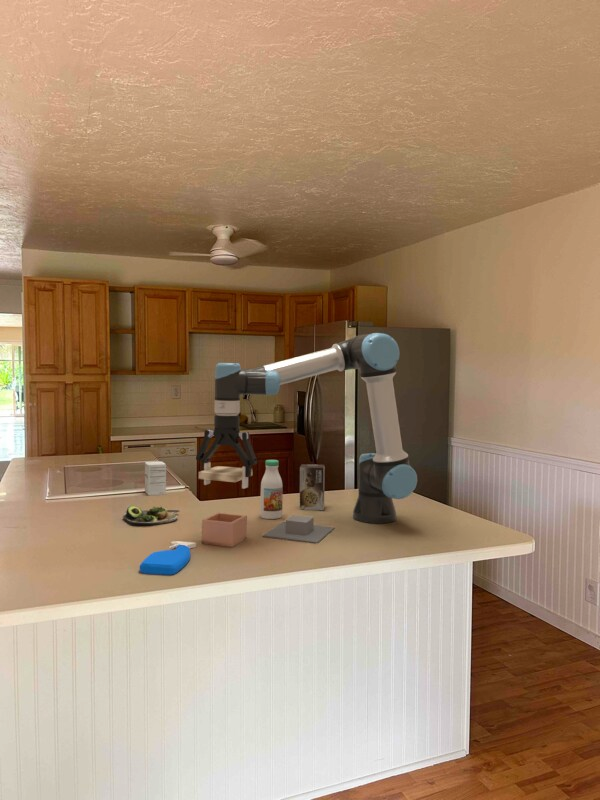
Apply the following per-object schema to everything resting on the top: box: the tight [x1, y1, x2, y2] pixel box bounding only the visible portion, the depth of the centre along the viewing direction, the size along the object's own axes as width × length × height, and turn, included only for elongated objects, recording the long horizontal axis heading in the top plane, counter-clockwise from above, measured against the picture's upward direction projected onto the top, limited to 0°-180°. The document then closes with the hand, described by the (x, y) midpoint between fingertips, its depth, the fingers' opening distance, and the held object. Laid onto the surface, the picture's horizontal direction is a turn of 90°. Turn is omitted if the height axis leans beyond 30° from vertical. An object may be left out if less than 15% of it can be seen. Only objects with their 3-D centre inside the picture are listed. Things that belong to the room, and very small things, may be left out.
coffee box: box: [299, 463, 326, 511], centre depth 225 cm, size 9×6×16 cm
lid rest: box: [261, 514, 336, 544], centre depth 192 cm, size 18×18×4 cm
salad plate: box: [122, 505, 180, 527], centre depth 206 cm, size 19×18×5 cm
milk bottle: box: [259, 459, 284, 520], centre depth 211 cm, size 8×8×20 cm
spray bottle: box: [139, 540, 197, 576], centre depth 164 cm, size 3×11×24 cm
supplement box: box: [144, 460, 167, 496], centre depth 246 cm, size 7×7×13 cm
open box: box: [201, 512, 248, 548], centre depth 182 cm, size 10×10×7 cm
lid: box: [198, 465, 254, 483], centre depth 181 cm, size 12×12×2 cm
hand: (225, 485), depth 181 cm, fingers closed on lid, 12 cm apart
